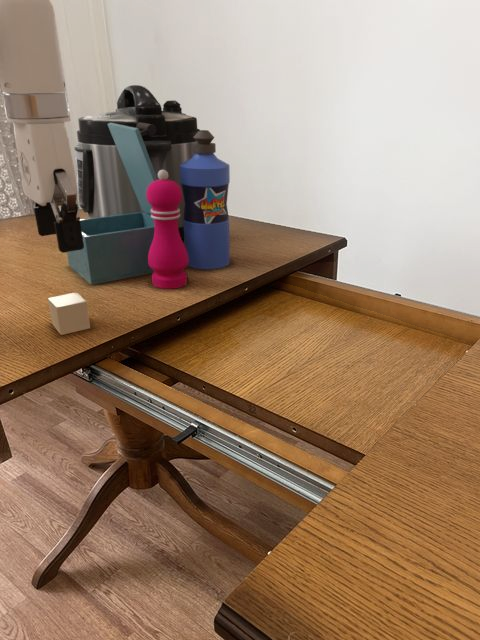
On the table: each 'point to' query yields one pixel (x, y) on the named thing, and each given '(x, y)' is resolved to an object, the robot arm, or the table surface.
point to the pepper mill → (166, 234)
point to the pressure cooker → (104, 159)
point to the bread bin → (114, 247)
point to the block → (69, 313)
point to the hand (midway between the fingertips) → (60, 241)
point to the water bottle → (206, 205)
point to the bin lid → (135, 157)
